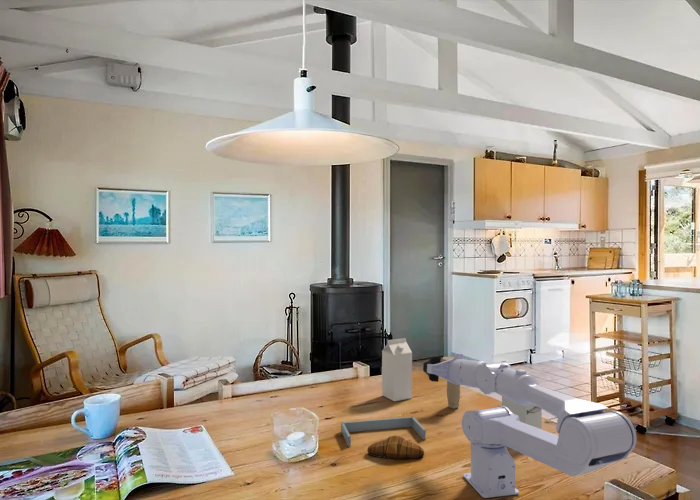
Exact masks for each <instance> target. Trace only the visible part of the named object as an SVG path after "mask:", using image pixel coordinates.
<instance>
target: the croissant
mask: <svg viewBox="0 0 700 500" xmlns="http://www.w3.org/2000/svg"><path fill="white" fill-rule="evenodd" d="M366 451H367V455H370V456H373V457H379V458H385V459H393V460H402V459H409V460H410V459H419V458H424V456H425V449H424V448H423V447H421V446H420V445H418V444H416V443H414V442H412V441H410V440H407V439H405V438H404V437H403V436H399V435H391V436H388V437H386V438H385V439H381V440H379V441H376V442H373V443H372V444H370V445H368V447H367V450H366Z"/></svg>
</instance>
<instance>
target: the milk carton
mask: <svg viewBox="0 0 700 500" xmlns="http://www.w3.org/2000/svg"><path fill="white" fill-rule="evenodd" d="M381 353H382V354H381V380H382V381H381V394H382V396H383V397H384V398H386V399H388V400H390V401H392V402H398V401H404V400H409V399H412V398H413V351H412V350H411V348H410V346H409V344H408V342H407V338H405V337H403V338H397V339H395V338H394V339H388V340H387V343H386V345H385V346H384V347H383V348H382V351H381Z"/></svg>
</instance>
